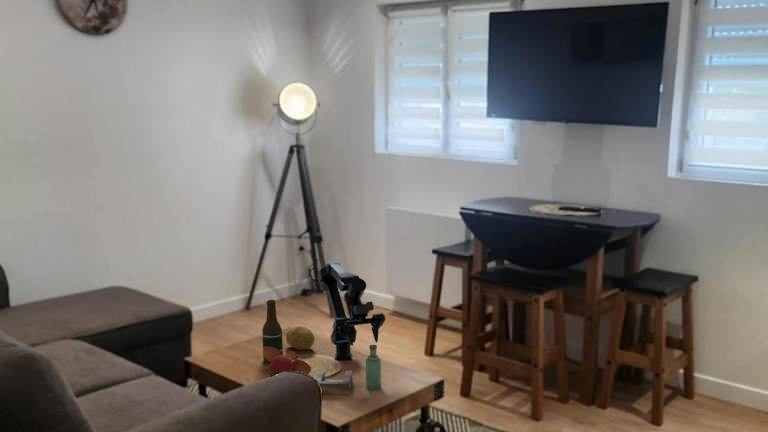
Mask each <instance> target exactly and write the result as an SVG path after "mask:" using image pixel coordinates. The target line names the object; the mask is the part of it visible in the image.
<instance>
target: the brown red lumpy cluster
mask: <svg viewBox="0 0 768 432" xmlns="http://www.w3.org/2000/svg"><path fill="white" fill-rule="evenodd" d="M285 353H286V355H284V354H283V355H282V352H281V351H280V350H278V348H276V347H272V346H265V347H264V349H263V348H262V356H263V355H264V357H265V358H266V359H267V360H268V361H270V362H271V363H270V364H269V366H268V367H267V369H268V370H269V372H270V373H271V374H272V375H274V376H275V375H276V374H279V373H281V372H283V371H299V372H303V373H306V374H308V375H309V374H310V373H311V372H312V367H311V366H310V365H309V364H308V363H307V362H306V361H305V360H302V359H299V357H300V356H299V354H297V353H296V351H291V350H287V351H286V352H285Z"/></svg>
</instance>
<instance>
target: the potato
mask: <svg viewBox="0 0 768 432" xmlns="http://www.w3.org/2000/svg"><path fill="white" fill-rule="evenodd" d="M285 341H286V343H287V344H288V346H290V347H291V348H293V349H295V350H297V351H298V350H300V351H304V350H308V349H310V348H311V347H312V346H313V345H314V344H315V335H314V334H313V332H312V330H310V329H309V328H308V327H305V326H302V325H298V326H294V327H292V328H289V330H287V332H286V335H285Z"/></svg>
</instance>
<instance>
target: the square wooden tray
mask: <svg viewBox="0 0 768 432" xmlns="http://www.w3.org/2000/svg"><path fill="white" fill-rule="evenodd" d="M325 372H326V371H325V370H318V371H317V373H316V376H315V378H314V380H315V379H316V380H317V381H318V383H319V384H320V387H321V389H322V395H323V396H324V395H326V396H328V395H329V396H330V395H331V396H349V395H350V392H351V388H352V384H353V370H345V372H344V376H343V378H326V373H325ZM322 395H321V396H322Z"/></svg>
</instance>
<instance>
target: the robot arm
mask: <svg viewBox="0 0 768 432" xmlns="http://www.w3.org/2000/svg"><path fill="white" fill-rule="evenodd" d="M317 282H318V283H319V284H320V287H321V289H323V290H324V291H325V292H326V293H327V298H328V300H329V304H330V308H331V311H332V315H333V318H334V322H333V325H332V333H331V335H330V342H331V343H332V344H333V345H334V346H335V354H334V360H336V361H341V360H343V361H345V360H346V361H349V360H350V361H351V360H353V359H352V358H353V353H352V352H351V351H352V350H351V346H352V347H353V346H354V343H356V340H357V329H356V327H355V326H361V325H371V331H372V335H373V338H374V342H375V343H376V344H377V343H378V341H379V329H380V328H381V327H383V325H384V323H385V321H386V320H387V319H386V315H385V314H384V313H382V312H381V313H379V312H378V313H374V314H372V316H371V317H368V316H369V313H370V312H371V311H374V310H375V309H374V308H375V307H374V303H373V301H367V302H365V303H362V299H361V298H362V297H363V295H364V293H365V290H366V289H367V283H366V281H365V280H364V279H363V278H360V276H359V275H356V274H354V273H350V272H347V271H346V270H345V269H344V268H343V267H342V266H341V264H340V262H336V261H335V262H328V263H327V264H325V266H324V267H322V268H320V269H319V272H318V274H317ZM340 292H345V293H344V295H343V297H344V298H343V300H342V297H341V294H340ZM343 301H344V302H345V307H346V309H347V315H348V317H347V315H346V311H345V308H344V305H343ZM367 317H368V318H367Z"/></svg>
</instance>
